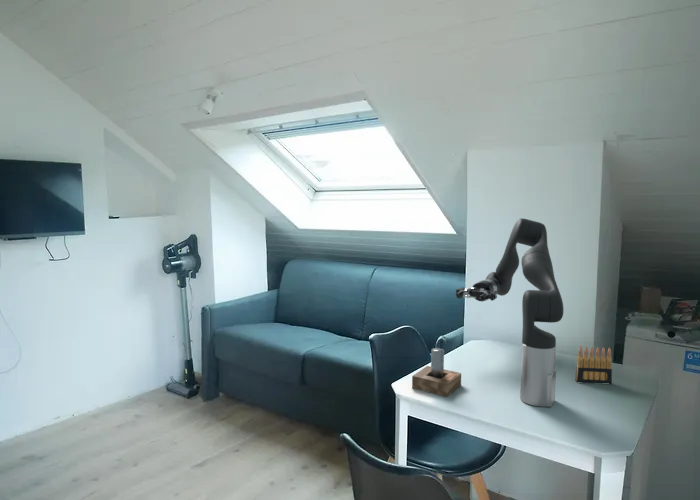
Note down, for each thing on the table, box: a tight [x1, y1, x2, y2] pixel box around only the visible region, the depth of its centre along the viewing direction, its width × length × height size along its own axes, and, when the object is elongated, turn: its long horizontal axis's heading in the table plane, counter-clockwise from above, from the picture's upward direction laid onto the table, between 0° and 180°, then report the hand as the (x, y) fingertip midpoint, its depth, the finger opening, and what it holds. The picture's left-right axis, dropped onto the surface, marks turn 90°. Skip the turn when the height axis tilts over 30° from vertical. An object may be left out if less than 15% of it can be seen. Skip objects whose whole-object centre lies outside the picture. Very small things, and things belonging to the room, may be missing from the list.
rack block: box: [411, 365, 462, 398], centre depth 149 cm, size 12×11×4 cm
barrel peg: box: [430, 347, 445, 379], centre depth 149 cm, size 4×4×12 cm
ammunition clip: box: [574, 346, 613, 385], centre depth 152 cm, size 11×2×12 cm, turn 82°
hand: (469, 297), depth 167 cm, fingers open, 8 cm apart
